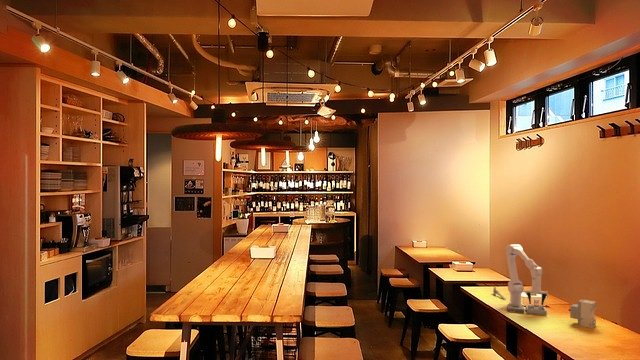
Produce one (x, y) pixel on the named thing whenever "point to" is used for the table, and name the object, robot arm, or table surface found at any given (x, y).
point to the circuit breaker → (584, 313)
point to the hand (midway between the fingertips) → (536, 304)
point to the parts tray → (539, 312)
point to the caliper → (498, 293)
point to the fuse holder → (515, 308)
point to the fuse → (536, 304)
